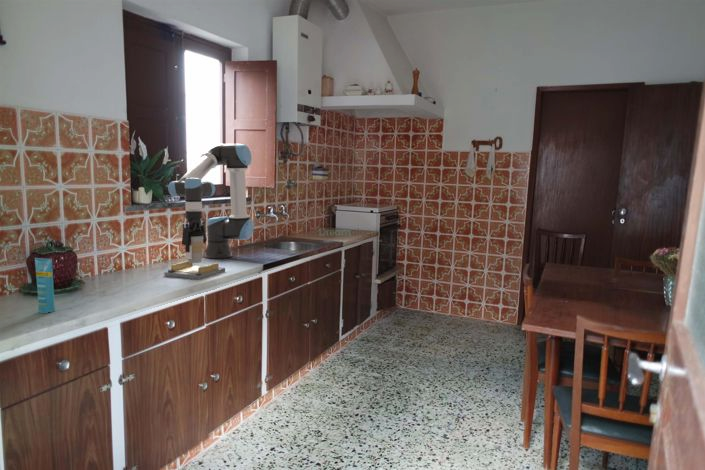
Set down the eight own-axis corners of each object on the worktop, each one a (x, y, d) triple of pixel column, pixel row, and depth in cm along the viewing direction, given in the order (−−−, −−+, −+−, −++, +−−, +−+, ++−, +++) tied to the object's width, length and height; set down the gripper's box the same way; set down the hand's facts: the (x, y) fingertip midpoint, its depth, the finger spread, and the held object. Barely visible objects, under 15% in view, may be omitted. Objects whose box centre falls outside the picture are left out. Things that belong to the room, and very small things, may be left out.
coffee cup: (198, 264, 229) (198, 232, 227) (180, 263, 231) (179, 231, 229) (208, 260, 238) (208, 230, 237) (191, 259, 240) (190, 229, 238)
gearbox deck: (192, 268, 248) (191, 258, 248) (225, 271, 242) (225, 261, 241) (164, 276, 230) (164, 265, 229) (199, 280, 223) (199, 269, 222)
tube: (32, 312, 169) (28, 258, 167) (43, 309, 174) (39, 256, 172) (51, 314, 168) (47, 259, 166) (61, 310, 173) (58, 257, 170)
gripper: (201, 208, 243) (202, 253, 245) (172, 211, 223) (173, 260, 226) (213, 209, 240) (214, 254, 243) (185, 212, 221) (187, 261, 224)
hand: (195, 257), depth 234 cm, fingers closed on coffee cup, 8 cm apart
